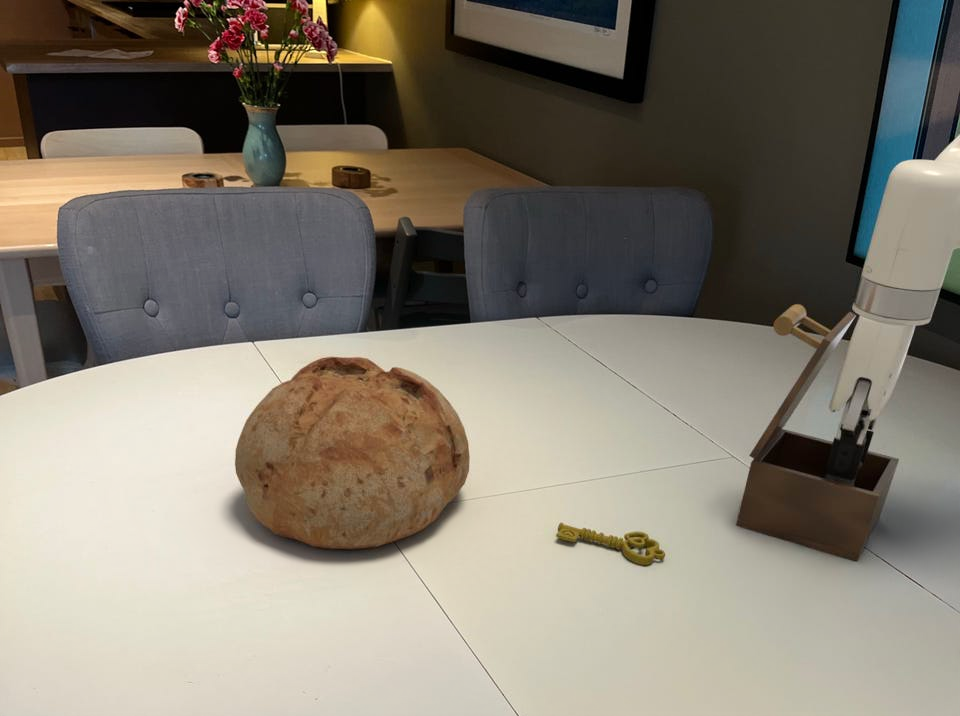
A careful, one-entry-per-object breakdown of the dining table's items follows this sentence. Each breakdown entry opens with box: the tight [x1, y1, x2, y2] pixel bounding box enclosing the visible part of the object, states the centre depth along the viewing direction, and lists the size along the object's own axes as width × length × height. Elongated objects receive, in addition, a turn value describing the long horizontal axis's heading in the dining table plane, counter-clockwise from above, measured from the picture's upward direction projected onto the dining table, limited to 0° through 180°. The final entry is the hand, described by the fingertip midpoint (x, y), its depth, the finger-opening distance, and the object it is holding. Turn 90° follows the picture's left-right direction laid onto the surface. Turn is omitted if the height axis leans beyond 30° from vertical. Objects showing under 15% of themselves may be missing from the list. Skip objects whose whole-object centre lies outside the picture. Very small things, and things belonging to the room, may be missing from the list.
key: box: [555, 522, 666, 566], centre depth 105 cm, size 12×1×5 cm
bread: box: [234, 356, 471, 550], centre depth 106 cm, size 26×23×15 cm
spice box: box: [735, 428, 900, 562], centre depth 111 cm, size 14×12×8 cm
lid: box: [749, 303, 857, 459], centre depth 107 cm, size 14×12×6 cm
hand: (844, 467), depth 108 cm, fingers closed on salt shaker, 3 cm apart
